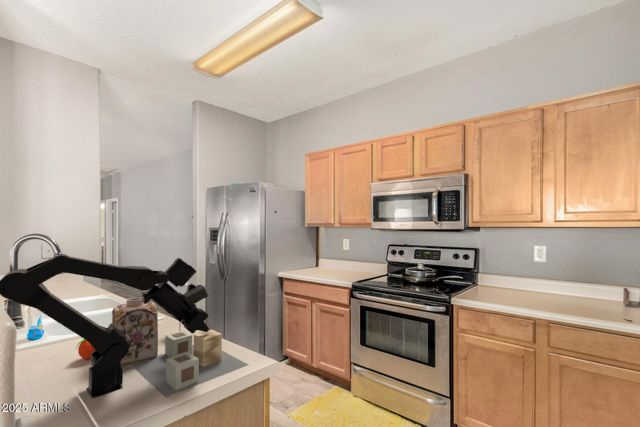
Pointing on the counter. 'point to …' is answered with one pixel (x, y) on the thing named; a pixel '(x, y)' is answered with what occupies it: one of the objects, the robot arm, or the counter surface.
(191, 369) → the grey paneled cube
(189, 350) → the brown paneled pale cube
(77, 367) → the counter surface
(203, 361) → the plain maple block
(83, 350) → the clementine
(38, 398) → the counter surface
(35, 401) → the counter surface
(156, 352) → the decorative jar
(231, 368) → the slate rubber mat
